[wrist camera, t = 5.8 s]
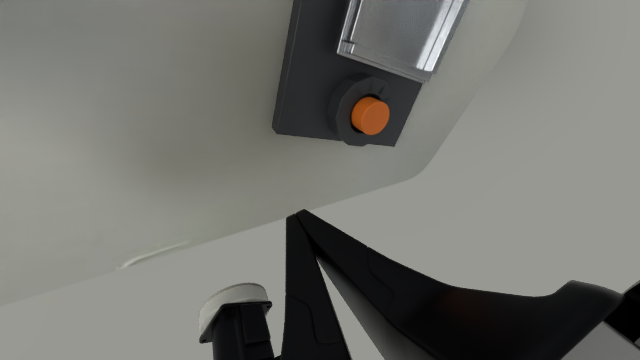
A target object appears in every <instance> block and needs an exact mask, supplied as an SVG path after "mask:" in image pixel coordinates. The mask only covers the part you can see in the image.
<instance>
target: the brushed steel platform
mask: <svg viewBox="0 0 640 360" xmlns="http://www.w3.org/2000/svg"><path fill="white" fill-rule="evenodd" d="M468 2H469V0H348V2H347V6H346V10H345V13H344V17H343V21H342V25H341V29H340V32H339V36H338V40H337V44H336V48H335V51H334V53H335V54H338V55H341V56H344V57H347V58H350V59H353V60H355V61H358V62H361V63H364V64H367V65H370V66H373V67H376V68H379V69H382V70H385V71H388V72H390V73H393V74H396V75H399V76H402V77H405V78H408V79H411V80H414V81H417V82H420V83H424V82H425V81H429V80H430V78H431V76H432V74H435V73H436V71H437V69H438V67H439V65H440V62H441V60H442V58H443V56H444V54H445V52H446V49H447V47H448V45H449V43H450V41H451V39H452V37H453V34H454V32H455V30H456V28H457V26H458V24H459V21H460V19H461V17H462V15H463V13H464V11H465V9H466V6H467V4H468Z"/></svg>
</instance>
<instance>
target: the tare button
mask: <svg viewBox="0 0 640 360" xmlns="http://www.w3.org/2000/svg"><path fill="white" fill-rule="evenodd" d="M389 114H390V112H389V108H388V106H387V104H386V103H384V102H382V101H380V100H377V99H375V98H372V97H365V98H362V99H360V100H359V101H358V102H357V103H356V104H355V106H354V108H353V110H352V113H351V120H352V123H353V125H354V126H355V127H356V128H358V129H359V130H361V131H362V132H364V133H365V134H367V135H374V134H377V133H379V132H380V131H381V130H382V129H383V128H384V127H385V126H386V124H387V122H388V119H389Z"/></svg>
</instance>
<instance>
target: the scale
mask: <svg viewBox="0 0 640 360" xmlns="http://www.w3.org/2000/svg"><path fill="white" fill-rule="evenodd" d="M347 2H348V0H294V2H293V8H292V14H291V19H290V25H289V31H288V37H287V42H286V48H285V54H284V60H283V65H282V71H281V77H280V83H279V88H278V94H277V100H276V106H275V111H274V117H273V123H272V129H273V130H274V131H275V132H276V134H283V135H292V136H301V137H310V138H320V139H329V140H338V141H344V142H345V143H346V144H348V145H352V146H364V145H366V144H375V145H384V146H393V147H394V146H395V144H396V142H397V140H398V138H399V135H400V133H401V131H402V129H403V127H404V124H405V122H406V120H407V118H408V115H409V113H410V111H411V109H412V107H413V104H414V102H415V100H416V98H417V95H418V93H419V91H420V89H421V86H422V84H423V83H420V82H417V81H414V80H411V79H408V78H405V77H402V76H399V75H396V74H393V73H390V72H388V71H385V70H382V69H379V68H376V67H373V66H370V65H367V64H364V63H361V62H358V61H355V60H353V59H350V58H347V57H344V56H341V55H338V54H335V53H334V51H335V48H336V44H337V40H338V36H339V32H340V29H341V25H342V21H343V17H344V13H345V10H346V6H347ZM365 97H372V98H375V99H377V100H380V101H382V102H384V103H386V104H387V106H388V108H389V112H390V114H389V119H388V122H387V124H386V126H385V127H384V128H383V129H382V130H381V131H380V132H379V133H377V134H374V135H367V134H365V133H364V132H362V131H361V130H359V129H358V128H356V127H355V126H354V125H353V123H352V120H351V113H352V110H353V108H354V106H355V104H356V103H357V102H358V101H359V100H360V99H362V98H365Z"/></svg>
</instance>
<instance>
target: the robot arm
mask: <svg viewBox="0 0 640 360" xmlns="http://www.w3.org/2000/svg"><path fill="white" fill-rule="evenodd" d="M316 258H317V259H316ZM317 260H318V262H319V263H320V265H321V266H322V268H323V269H324V271H325V272H326V274H327V275H328V277H329V278H330V280H331V281H332V283H333V284H334V285H335V287H336V288H337V290H338V291H339V293H340V294H341V296H342V297H343V299H344V300H345V302H346V303H347V305H348V306H349V307H350V309H351V310H352V312H353V313H354V315H355V316H356V318H357V319H358V321H359V322H360V324H361V325H362V327H363V328H364V330H365V331H366V333H367V334H368V336H369V337H370V339H371V340H372V342H373V343H374V345H375V346H376V347H377V349H378V350H379V352H380V353H381V355H382V356H383V357H384V359H385V360H640V280H639V281H638V282H636V283H635V284H634V285H632V286H631V287H630V288H629V289H627V290H626V291H625V292H624V293H622V294H620V293H618V292H616V291H613V290H610V289H607V288H605V287H601V286H598V285H593V284H589V283H584V282H579V281H574V280H571V281H569V282H567V283H566V284H565V285H564V286H563V287H561V288H560V289H559V290H557V291H556V292H555V293H553V294H551V295H547V296H539V297H531V296H521V295H513V294H505V293H498V292H490V291H482V290H475V289H467V288H460V287H455V286H451V285H448V284H445V283H442V282H440V281H437V280H435V279H433V278H431V277H428V276H426V275H424V274H422V273H420V272H417V271H415V270H413V269H411V268H408V267H406V266H404V265H402V264H400V263H398V262H395V261H393V260H391V259H389V258H387V257H386V256H384V255H382V254H380V253H378V252H376V251H375V250H373V249H371V248H370V247H368V248H367V246H366V245H364V244H363V243H361V242H359V241H358V240H356V239H354V238H353V237H351V236H349V235H347V234H346V233H344V232H342V231H341V230H339V229H337V228H336V227H334V226H332V225H331V224H329V223H327V222H325V221H324V220H322V219H320V218H319V217H317V216H315V215H314V214H312V213H310V212H309V211H307V210H305V209H303V210H301V211H299V212H297V213H296V214H293V215H290V216H288V217H287V218H286V296H285V323H284V333H283V342H282V351H281V355H280V356H277V357H275V358H274V353H273V349H272V345H271V341H270V333H269V330H268V325H267V321H266V317H265V315H266V314H267V312H268V311H269V309H270V308H271V307H272V302H271V301H260V302H241V303H225V304H223V305H221V306H220V308H219V309H218V311H217V312H216V314H215V315H214V317H213V318H212V320H211V321H210V323H209V324H208V326H207V327H206V329H205V330H204V332H203V334H202V335H201V337H200V339H199V341H200V343H208V342H212V345H213V358H214V360H352V357H351V354H350V352H349V349H348V346H347V344H346V341H345V338H344V335H343V332H342V329H341V327H340V324H339V321H338V318H337V315H336V312H335V310H334V307H333V304H332V301H331V298H330V295H329V293H328V290H327V287H326V284H325V282H324V278H323V276H322V273H321V270H320V267H319V264H318V262H317Z"/></svg>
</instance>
